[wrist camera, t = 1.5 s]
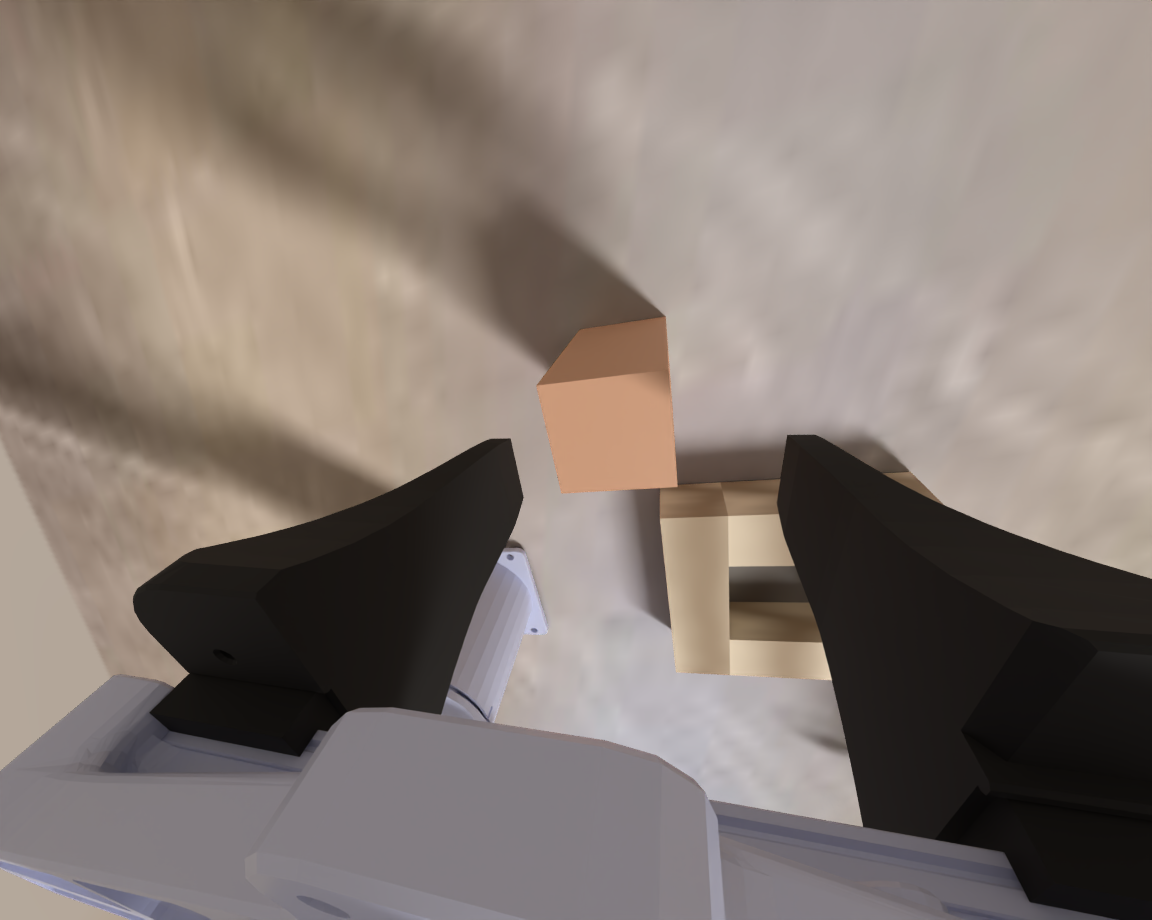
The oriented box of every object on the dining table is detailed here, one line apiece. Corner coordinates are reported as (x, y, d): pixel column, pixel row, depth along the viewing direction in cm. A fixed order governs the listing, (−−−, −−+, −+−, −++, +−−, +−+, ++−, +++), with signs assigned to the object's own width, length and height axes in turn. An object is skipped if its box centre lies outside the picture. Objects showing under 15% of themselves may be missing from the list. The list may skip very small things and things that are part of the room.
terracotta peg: (593, 407, 21) (561, 493, 15) (579, 329, 20) (536, 385, 13) (671, 399, 20) (677, 486, 14) (665, 316, 19) (668, 369, 12)
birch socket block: (674, 631, 29) (676, 672, 26) (660, 485, 23) (659, 518, 20) (872, 637, 26) (896, 683, 23) (910, 471, 20) (947, 507, 18)
